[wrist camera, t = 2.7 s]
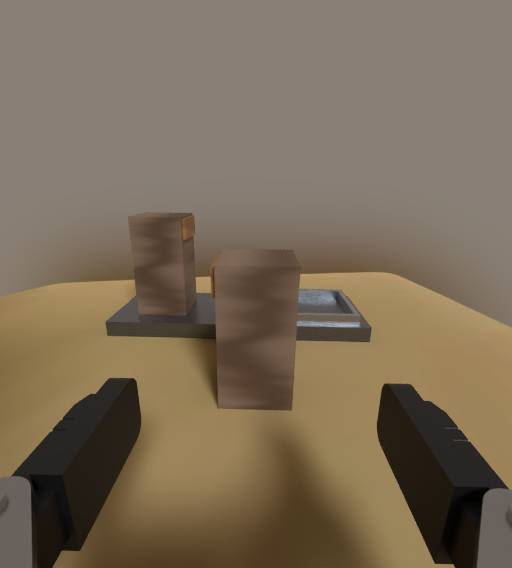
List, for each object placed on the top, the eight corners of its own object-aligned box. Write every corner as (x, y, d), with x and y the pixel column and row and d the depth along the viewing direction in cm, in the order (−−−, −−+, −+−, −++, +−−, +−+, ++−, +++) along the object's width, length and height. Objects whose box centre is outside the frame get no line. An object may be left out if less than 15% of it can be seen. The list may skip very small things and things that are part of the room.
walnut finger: (213, 408, 21) (208, 265, 18) (222, 367, 26) (220, 248, 22) (291, 410, 21) (300, 267, 18) (286, 368, 25) (292, 250, 22)
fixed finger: (138, 314, 32) (127, 216, 29) (154, 297, 37) (147, 212, 34) (189, 315, 32) (183, 217, 29) (198, 298, 37) (195, 213, 34)
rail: (107, 335, 30) (104, 312, 30) (141, 302, 39) (139, 284, 38) (369, 341, 30) (372, 318, 29) (346, 307, 39) (348, 288, 38)
